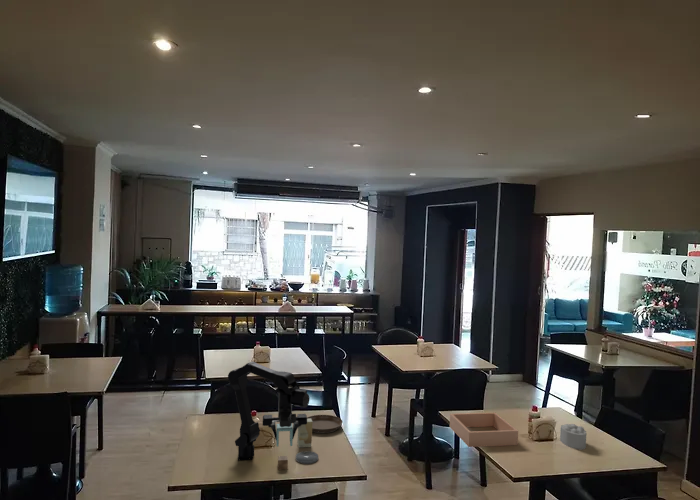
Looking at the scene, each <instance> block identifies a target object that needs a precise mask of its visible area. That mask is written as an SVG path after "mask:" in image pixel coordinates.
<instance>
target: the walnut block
mask: <svg viewBox="0 0 700 500" xmlns="http://www.w3.org/2000/svg"><path fill="white" fill-rule="evenodd" d="M288 457H289V456H288V455H280V456H277V469H278V470H279V471H280V470H288V469H289V465H288V464H289V458H288Z"/></svg>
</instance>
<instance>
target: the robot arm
mask: <svg viewBox="0 0 700 500" xmlns="http://www.w3.org/2000/svg"><path fill="white" fill-rule="evenodd" d="M250 374H253V375H255V376H258V377H260V378H263V379H265V380H268V381H270V382H272V384H273V385H274V386H276V389H274V393H278V408H277V410H278V412H277V413H278V414H277V417H276V416H275V417H273V414H263V416H262V426H263V427H267V428H270V429H271V430H272V432H273V436H274V439H275V441H276V440H277V434H276V431H277V424H276V423H279V424H280V427H287V426H288V427H290V426H291V423H292V427H293V439H294V438H295V436H296V432H297V431H298V427H299V426H301V425H306V424H307V417H308V416H307V414H306V413H297V414H296V413H293V406H295V407H300V408H307V407H309V403H310V401H311V399H310V395H309V393H308V390H305V389H304V390H303V389H300V386H299V384H298V382H297V381H296V378H295V375H294V374H293V373H292V372H288V371H278V370H275V369H273V368H269V367H267V366H264V365H262V364H259V363H257V362H256V361H250V362H247V363H246V364H244V365H243V366H241V367H238V368H236V369H233V370H230V371H229V372H228V375H227V379H228V382H229V385H230V386H231V388H232V389H233V390H234V393H235V398H236V402H237V408H238V412H239V417H240V427H239V436H238V437H237V438H236V439H235V440H234V444H235V446H236V447H238V452H237V453H238V454H237V455H238V456H237V461H253V459H254V457H255V445H254V442H256V441H257V439H258V438H259V436H260V432H261V429H260V427H259V426H260V424H259V422H258V421H256V422H255V420H254V419H253V415H252V409H251V405H250V401H249V396H248V390H247V385H248V381H249V380H248V376H249V375H250Z"/></svg>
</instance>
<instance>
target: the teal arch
mask: <svg viewBox="0 0 700 500" xmlns="http://www.w3.org/2000/svg"><path fill="white" fill-rule="evenodd" d="M280 432H289V443H290V444H289V445H290V447H292V446H293V440H294V438H293V423H291V426H290V427H288V426H287V427H280V423H276V434H277V440H276V439H275V442H276V447H279V441H280V439H279V438H280Z"/></svg>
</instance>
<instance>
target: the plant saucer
mask: <svg viewBox="0 0 700 500" xmlns="http://www.w3.org/2000/svg"><path fill="white" fill-rule="evenodd" d="M310 418H311V419H312V421H313V424H312V433H316V434H328V433H334V432H335V431H337V430H338V429H339V428H340V427H342V424H343V419H341V418H340V417H339V416H335V415H331V414H316V415H315V414H313V415H311V416H307V419H310Z"/></svg>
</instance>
